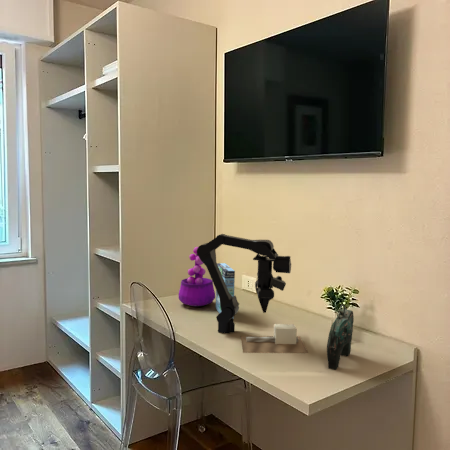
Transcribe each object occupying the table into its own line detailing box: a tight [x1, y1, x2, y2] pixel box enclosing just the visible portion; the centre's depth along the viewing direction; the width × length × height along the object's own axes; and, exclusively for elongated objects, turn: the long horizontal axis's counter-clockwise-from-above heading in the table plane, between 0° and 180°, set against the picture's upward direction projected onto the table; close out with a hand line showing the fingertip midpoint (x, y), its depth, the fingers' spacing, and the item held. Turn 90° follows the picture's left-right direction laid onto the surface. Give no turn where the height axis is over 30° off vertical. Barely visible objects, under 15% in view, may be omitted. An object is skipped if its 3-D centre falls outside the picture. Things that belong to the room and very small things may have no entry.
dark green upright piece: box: [326, 303, 355, 371], centre depth 164 cm, size 20×6×20 cm, turn 150°
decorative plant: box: [178, 246, 216, 307], centre depth 235 cm, size 19×19×30 cm
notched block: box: [273, 323, 298, 344], centre depth 180 cm, size 8×6×6 cm
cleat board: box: [240, 335, 309, 354], centre depth 177 cm, size 24×18×3 cm
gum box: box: [215, 262, 236, 320], centre depth 220 cm, size 20×5×23 cm, turn 13°
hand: (263, 309), depth 187 cm, fingers open, 9 cm apart
